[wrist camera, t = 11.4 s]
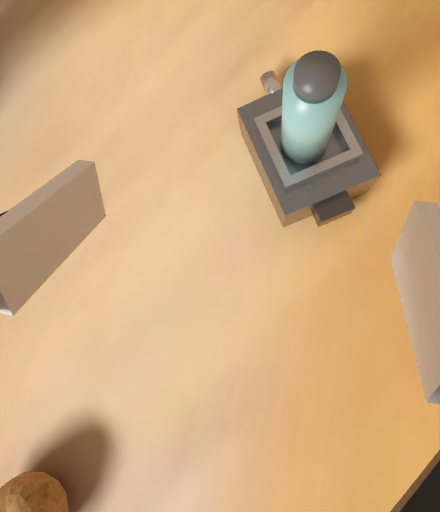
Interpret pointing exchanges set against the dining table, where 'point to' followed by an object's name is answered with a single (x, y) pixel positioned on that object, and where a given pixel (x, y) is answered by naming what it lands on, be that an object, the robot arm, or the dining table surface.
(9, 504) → the potato
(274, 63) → the dining table surface
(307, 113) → the teal bottle
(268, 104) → the square hollow holder
